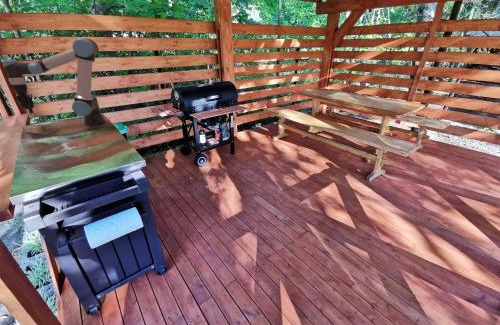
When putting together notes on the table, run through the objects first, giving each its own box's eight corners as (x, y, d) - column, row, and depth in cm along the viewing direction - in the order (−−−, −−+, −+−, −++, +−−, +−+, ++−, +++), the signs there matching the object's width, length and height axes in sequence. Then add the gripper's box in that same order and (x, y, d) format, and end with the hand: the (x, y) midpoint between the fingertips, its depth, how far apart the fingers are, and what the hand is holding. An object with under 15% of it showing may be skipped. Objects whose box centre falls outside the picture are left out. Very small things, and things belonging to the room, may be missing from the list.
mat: (38, 129, 184) (38, 128, 184) (59, 130, 180) (59, 130, 180) (24, 133, 175) (24, 132, 175) (46, 135, 171) (46, 134, 171)
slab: (48, 129, 181) (35, 128, 183) (46, 124, 179) (33, 123, 181) (37, 133, 174) (24, 132, 176) (35, 127, 172) (22, 126, 174)
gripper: (5, 84, 161) (19, 118, 171) (20, 84, 159) (34, 119, 169) (17, 83, 168) (30, 115, 178) (31, 83, 165) (44, 116, 176)
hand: (32, 117), depth 173 cm, fingers closed
